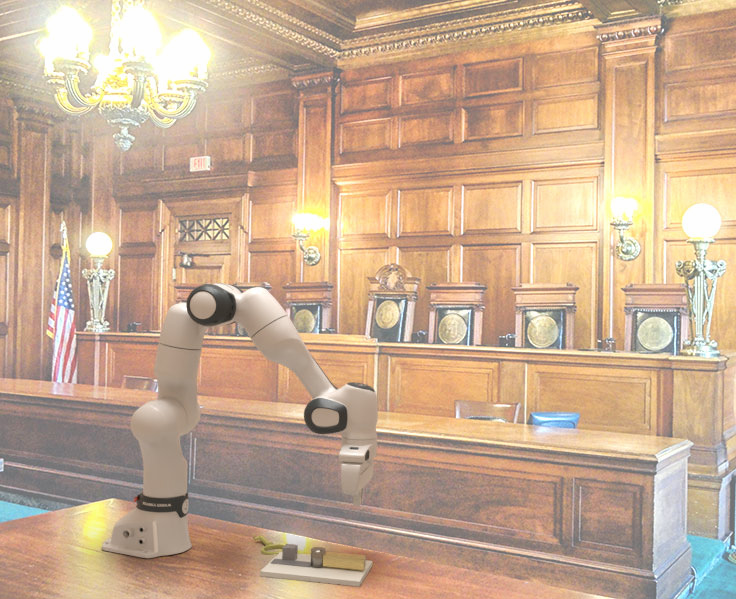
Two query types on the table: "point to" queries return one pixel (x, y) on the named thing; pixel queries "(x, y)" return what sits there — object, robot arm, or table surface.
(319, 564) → the swing arm
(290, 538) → the table surface
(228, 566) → the table surface
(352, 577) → the lock plate
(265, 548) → the key
